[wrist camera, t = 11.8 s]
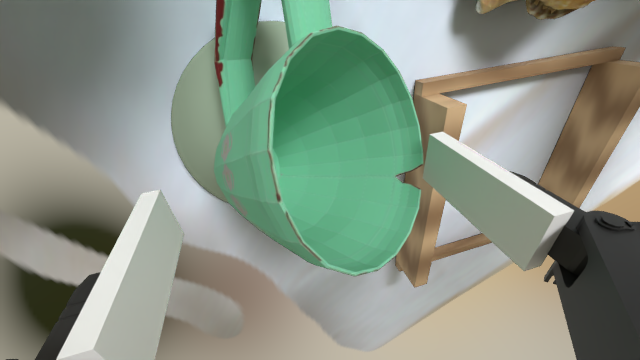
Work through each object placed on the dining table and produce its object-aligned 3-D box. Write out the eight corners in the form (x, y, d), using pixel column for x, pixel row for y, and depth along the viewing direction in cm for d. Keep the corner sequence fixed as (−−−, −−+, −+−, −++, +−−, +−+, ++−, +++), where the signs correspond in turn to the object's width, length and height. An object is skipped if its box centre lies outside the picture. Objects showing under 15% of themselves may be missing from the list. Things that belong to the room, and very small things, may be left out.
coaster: (130, 35, 14) (127, 36, 14) (368, 8, 17) (372, 8, 16) (211, 224, 22) (211, 229, 22) (366, 186, 25) (369, 190, 24)
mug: (317, 203, 22) (437, 208, 15) (209, 273, 16) (328, 337, 9) (258, 18, 19) (375, -88, 12) (91, 11, 13) (125, -233, 5)
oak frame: (415, 80, 20) (450, 93, 17) (612, 46, 24) (672, 51, 21) (395, 265, 33) (413, 293, 29) (527, 224, 36) (557, 245, 33)
